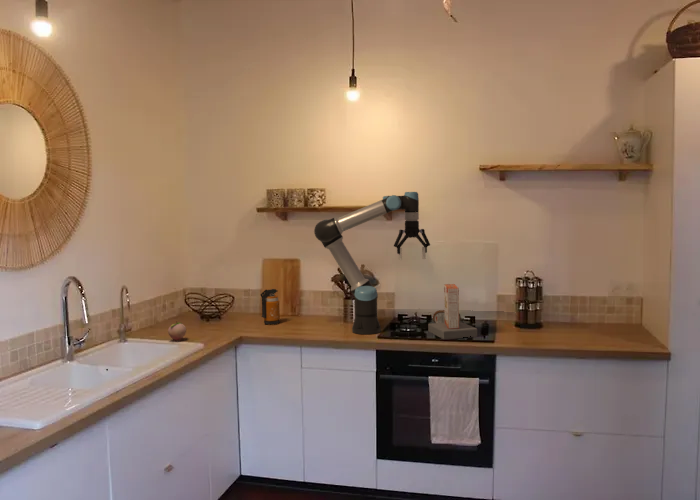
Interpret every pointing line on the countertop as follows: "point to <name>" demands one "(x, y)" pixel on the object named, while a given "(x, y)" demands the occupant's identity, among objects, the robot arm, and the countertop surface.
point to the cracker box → (451, 306)
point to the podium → (452, 331)
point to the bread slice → (440, 316)
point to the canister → (270, 307)
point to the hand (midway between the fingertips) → (412, 259)
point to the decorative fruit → (177, 331)
